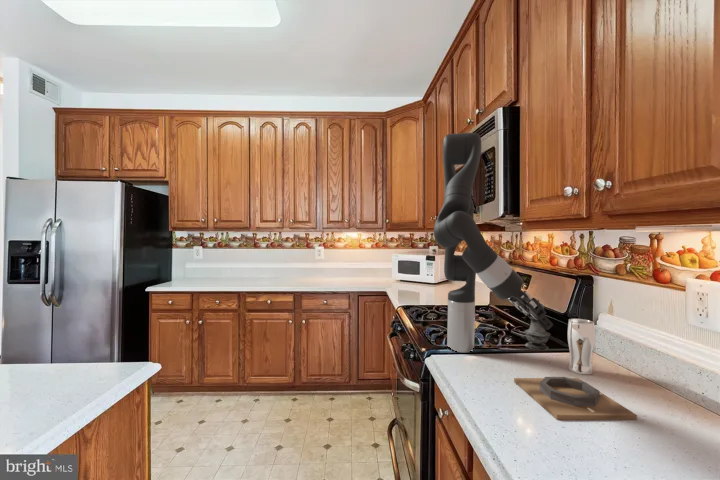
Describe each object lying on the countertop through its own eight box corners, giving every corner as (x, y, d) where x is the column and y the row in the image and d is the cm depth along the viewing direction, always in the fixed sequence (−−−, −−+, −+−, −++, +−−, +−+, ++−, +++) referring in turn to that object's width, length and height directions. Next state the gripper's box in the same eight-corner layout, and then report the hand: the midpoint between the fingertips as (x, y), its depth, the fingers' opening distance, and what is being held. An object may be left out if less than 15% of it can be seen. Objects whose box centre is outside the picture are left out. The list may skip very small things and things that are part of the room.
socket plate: (514, 381, 97) (514, 370, 97) (577, 381, 97) (578, 371, 97) (556, 419, 77) (557, 406, 77) (637, 419, 77) (637, 406, 77)
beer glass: (583, 376, 101) (585, 324, 101) (561, 368, 107) (562, 319, 107) (599, 373, 104) (600, 322, 103) (576, 365, 110) (577, 317, 110)
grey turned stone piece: (523, 347, 88) (524, 299, 87) (524, 341, 93) (525, 296, 92) (549, 352, 85) (551, 302, 84) (549, 345, 90) (551, 298, 90)
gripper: (522, 268, 81) (573, 321, 82) (498, 263, 95) (541, 308, 96) (499, 291, 81) (550, 344, 82) (478, 282, 95) (521, 328, 96)
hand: (545, 324), depth 89 cm, fingers closed on grey turned stone piece, 3 cm apart
